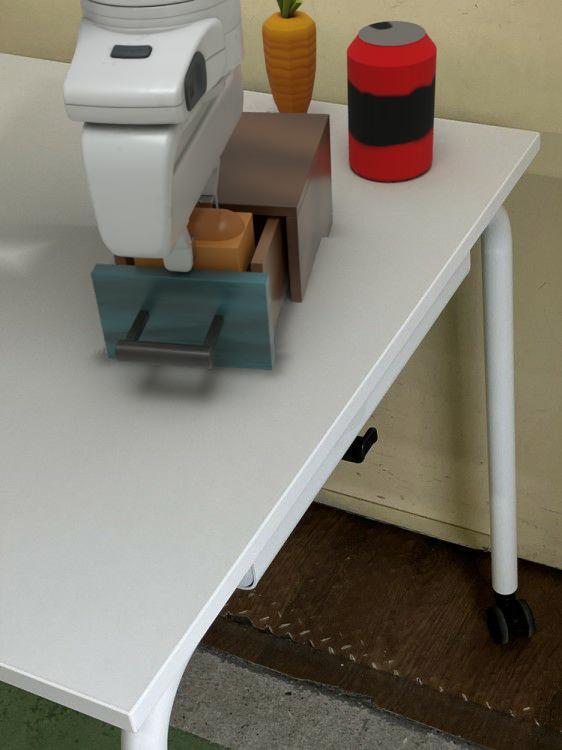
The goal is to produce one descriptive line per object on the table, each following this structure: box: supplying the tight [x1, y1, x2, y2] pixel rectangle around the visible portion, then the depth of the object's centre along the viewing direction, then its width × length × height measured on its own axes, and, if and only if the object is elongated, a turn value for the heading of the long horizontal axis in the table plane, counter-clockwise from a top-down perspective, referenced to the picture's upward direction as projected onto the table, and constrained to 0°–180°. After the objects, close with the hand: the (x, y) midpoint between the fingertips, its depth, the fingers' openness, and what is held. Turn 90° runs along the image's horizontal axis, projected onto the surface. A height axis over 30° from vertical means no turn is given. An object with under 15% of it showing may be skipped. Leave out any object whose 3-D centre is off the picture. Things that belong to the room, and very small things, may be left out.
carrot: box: [261, 0, 317, 113], centre depth 93 cm, size 5×5×15 cm
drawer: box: [90, 215, 290, 371], centre depth 69 cm, size 18×11×8 cm, turn 169°
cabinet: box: [217, 111, 334, 303], centre depth 77 cm, size 15×13×10 cm
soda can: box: [346, 20, 438, 183], centre depth 88 cm, size 8×8×12 cm
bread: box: [134, 208, 255, 272], centre depth 66 cm, size 7×4×4 cm, turn 79°
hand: (193, 242), depth 66 cm, fingers closed on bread, 4 cm apart
